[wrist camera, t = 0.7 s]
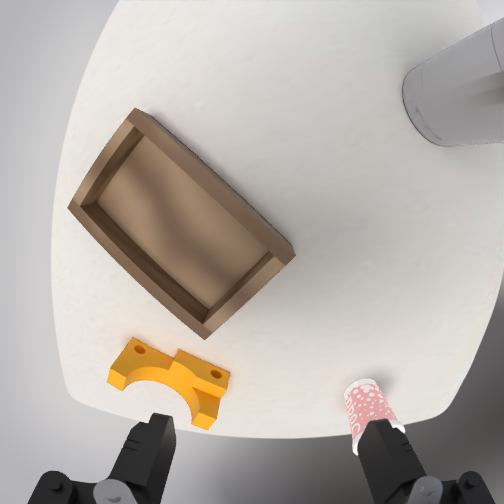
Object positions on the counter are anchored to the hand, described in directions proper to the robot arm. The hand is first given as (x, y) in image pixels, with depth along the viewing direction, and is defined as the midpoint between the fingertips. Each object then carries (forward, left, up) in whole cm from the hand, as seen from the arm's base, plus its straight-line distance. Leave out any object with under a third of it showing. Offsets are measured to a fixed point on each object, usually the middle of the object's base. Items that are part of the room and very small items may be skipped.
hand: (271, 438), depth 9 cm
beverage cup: (+3, +20, -18) cm, 27 cm away
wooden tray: (+2, -10, -18) cm, 21 cm away
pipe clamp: (+15, 0, -18) cm, 24 cm away
